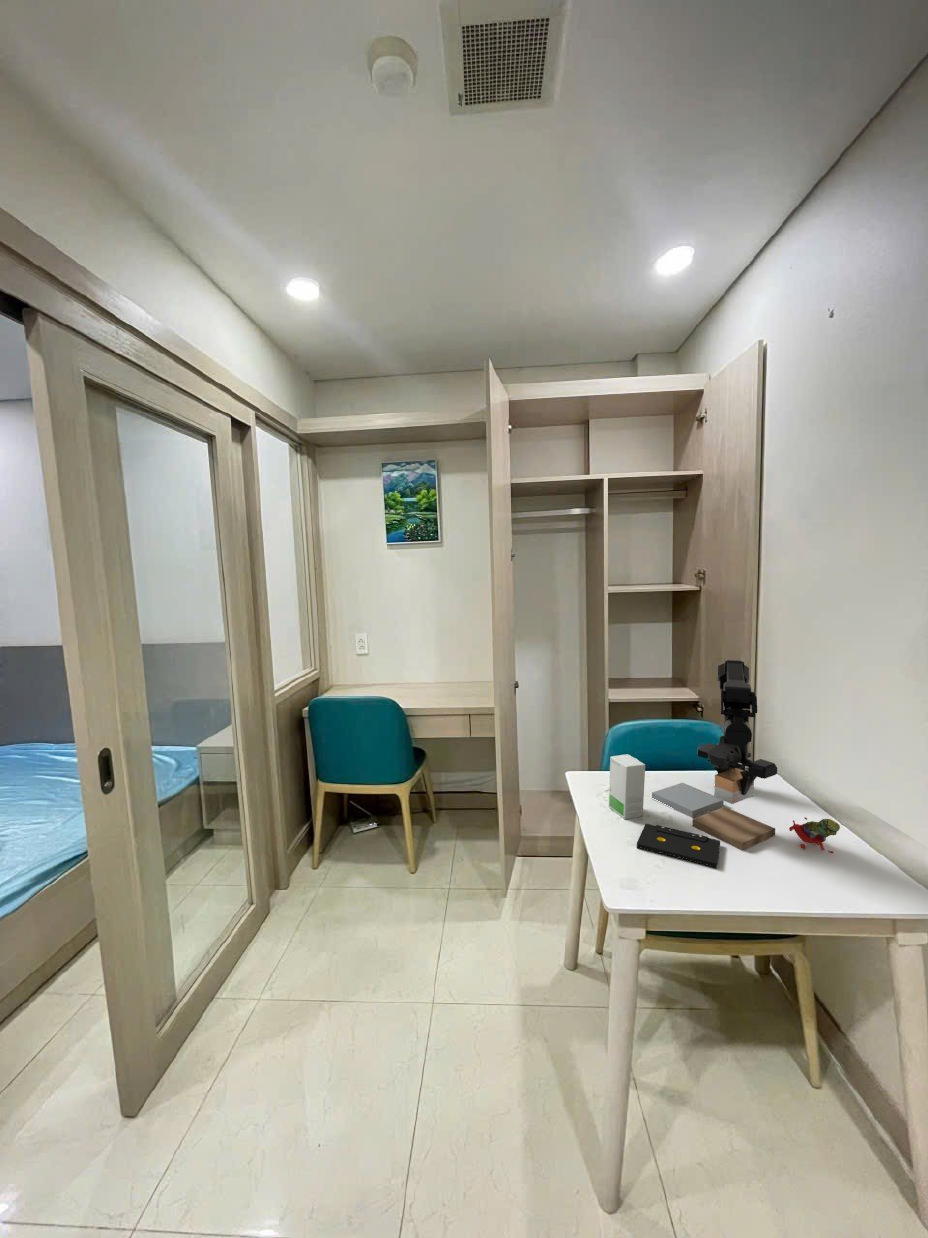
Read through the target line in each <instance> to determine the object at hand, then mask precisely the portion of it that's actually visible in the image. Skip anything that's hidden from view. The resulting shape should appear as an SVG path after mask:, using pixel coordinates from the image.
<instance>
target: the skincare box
mask: <svg viewBox="0 0 928 1238" xmlns="http://www.w3.org/2000/svg"><path fill="white" fill-rule="evenodd" d="M609 761H610V763H609V781H608V782H609V786H608V807H609V809H610V810H612V811H614V813H616V814H617V815H619V817H621V818H622V819H623V820H628V819H635V818H640V817H643V816H644V796H645V776H646V764H645V763H643V762H642V761H640V760H638V759H637V758H636V757H633V756H631V755H630V754H627V753H626V754H620V755H613V756H610V760H609Z"/></svg>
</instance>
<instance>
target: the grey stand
mask: <svg viewBox="0 0 928 1238" xmlns="http://www.w3.org/2000/svg"><path fill="white" fill-rule="evenodd" d="M652 798H654V799H656V800H658V801H660V802H662V803H664V804H666V805H668V806H670V807H672V808H674V809H673V810H674V811H677V812H679V813H681V814H683V815H685V816H687V817H690V818H691V819H694V818H697V817H700V816H702V815H705V814H707V813H710V812H713V811H715V810H718V809H721V808H723V807H725V806H724V804H725V801H723V800H721V799H719V798H716V797H714V794H712V793H709V792H706V791H703V790H701V789H699V788H696V787H694V786H692V785H690V784H687V783H684V782H681V783H676V784H674V785H671V786H670V785H669V786H668V787H665V788H662V789H659V790H654V791H652V792H651V799H652ZM656 800H655V801H656ZM658 801H657V802H658ZM660 802H659V803H660ZM662 803H661V804H662ZM664 804H663V805H664ZM666 805H665V806H666ZM668 806H667V807H668ZM722 806H723V807H722ZM670 807H669V808H670ZM672 808H671V809H672Z"/></svg>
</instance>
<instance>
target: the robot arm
mask: <svg viewBox="0 0 928 1238" xmlns="http://www.w3.org/2000/svg"><path fill="white" fill-rule="evenodd" d="M716 672H717V674H716V676H717V677H716V678H717V679H716V681H717V682H719V690H720V715H723V729H722V730H723V733H722V735H721V736H719V737H720V738H719V742H718V743H717V744H715V743H712V742H708V743H705V744H702V745H699V746H698V747H697V748H696V749H697V750H696V755H697V757H700V758H703V759H707V762H708V763H709V764H711V765H712V766H713V767H714V770H716V772H717V774H719V773H722V772H725V771H728V770H731V769H734V768H738V769H741V770H744V771H742V772H740V774H741V775H742V795H746V793H747V792H748V790H749V788H750V787H751V785H752V783H753V781H754V782H755V780H756V779H757V778H759V779H768V778H771V777H773V776H774V777H775V776H777V775H778V767H777V764H776V763H775V762H772V761H768V760H765V759H762V758H760V759H756V760H754V761H753V760H750V759H749V758H751V757H752V753H751V752H750V751H749V743H752V738H753V732H752V729H751V725H750V723H749V722H750V718H756V714H758V697H757V695H756V693H755V691H752V687H751V684H749V682H750V681H749V680H750V667H748V666H747V665H746V664H745V661H742V660H739V659H737V660H736V659H727V660H724V663H721V664H719V665H718V666H717V671H716Z"/></svg>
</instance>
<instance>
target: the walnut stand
mask: <svg viewBox="0 0 928 1238" xmlns="http://www.w3.org/2000/svg"><path fill="white" fill-rule="evenodd" d="M692 827H694V828H696V829H697V830H699V831H701V832H703V833H705V834H708V835H709V836H711V837H714V839H716V840H719V841H720V842H724V843H726V844H728V845H730V846H732V847H733V848H736V849H738V850H740V851H742V852H744V851H745V850H747V849H750V848H752V847H753V846H756V845H758V844H760V843H762V842H764V841H767V840H769V839H771V838H774V837H775V836H776V828H775V827H774V826H770V825H768V824H766V823H763V822H761V821H760V820H756V819H754V818H752V817H750V816H747V815H745V814H743V813H740V812H737V811H735V810H733V809H731V808H728V807H726V806H723V807H720V808H717V809H715V810H712V811H709V812H707V813H704V814H701V815H699V816H696V817H693V818H692Z"/></svg>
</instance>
